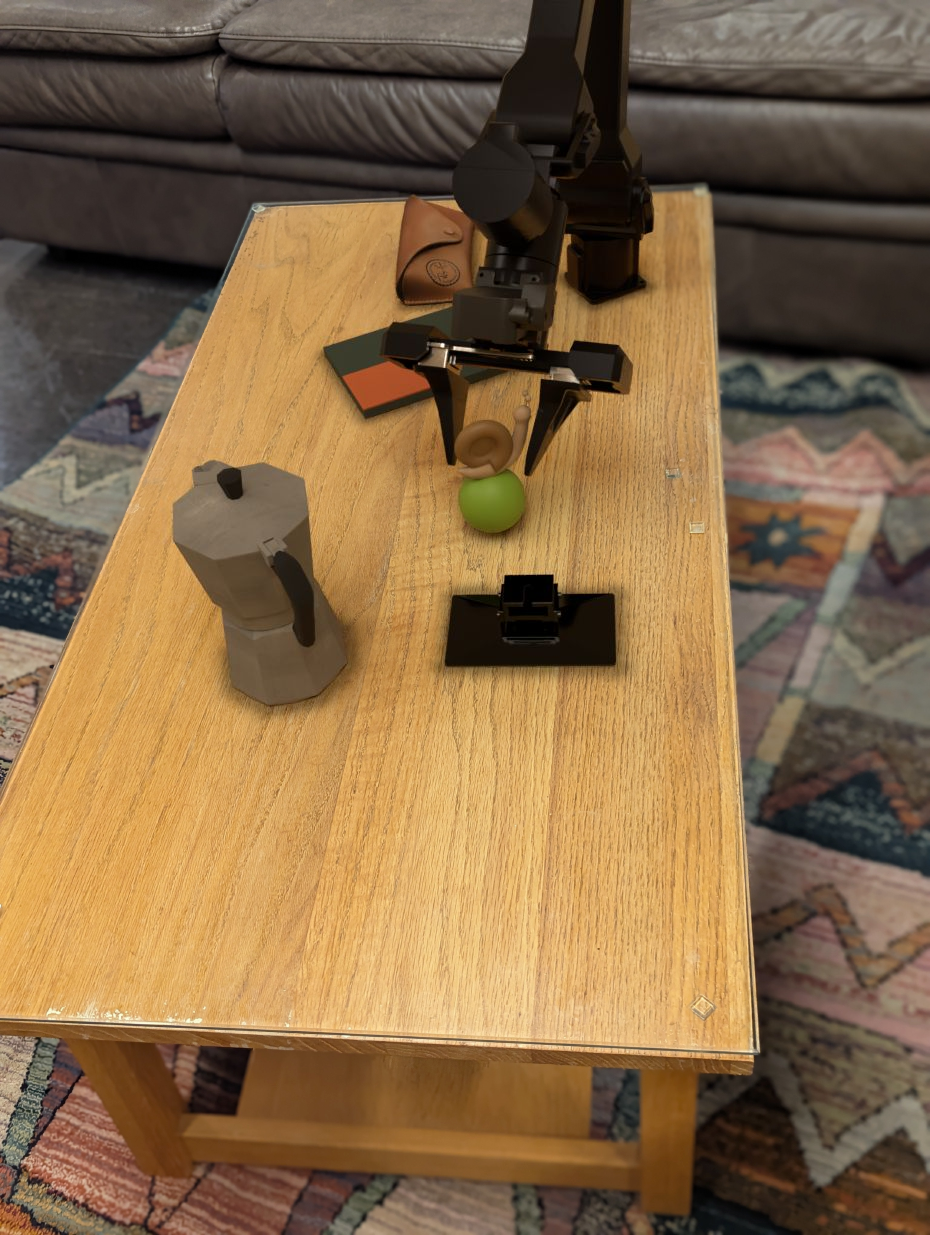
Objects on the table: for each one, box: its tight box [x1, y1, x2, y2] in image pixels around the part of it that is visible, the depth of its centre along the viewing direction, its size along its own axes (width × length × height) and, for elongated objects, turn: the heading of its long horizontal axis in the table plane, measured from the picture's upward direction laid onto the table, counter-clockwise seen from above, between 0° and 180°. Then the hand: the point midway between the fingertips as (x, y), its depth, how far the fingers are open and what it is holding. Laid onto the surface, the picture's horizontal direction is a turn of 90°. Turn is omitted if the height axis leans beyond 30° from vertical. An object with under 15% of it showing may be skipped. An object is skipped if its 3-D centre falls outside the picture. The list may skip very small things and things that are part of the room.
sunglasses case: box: [394, 194, 476, 306], centre depth 117 cm, size 18×7×7 cm, turn 0°
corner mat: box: [322, 305, 518, 420], centre depth 105 cm, size 16×12×1 cm
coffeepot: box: [172, 459, 348, 706], centre depth 73 cm, size 15×9×18 cm, turn 33°
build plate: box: [444, 573, 617, 668], centre depth 79 cm, size 12×7×5 cm, turn 86°
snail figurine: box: [454, 389, 533, 534], centre depth 84 cm, size 5×6×12 cm
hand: (489, 470), depth 83 cm, fingers open, 6 cm apart
